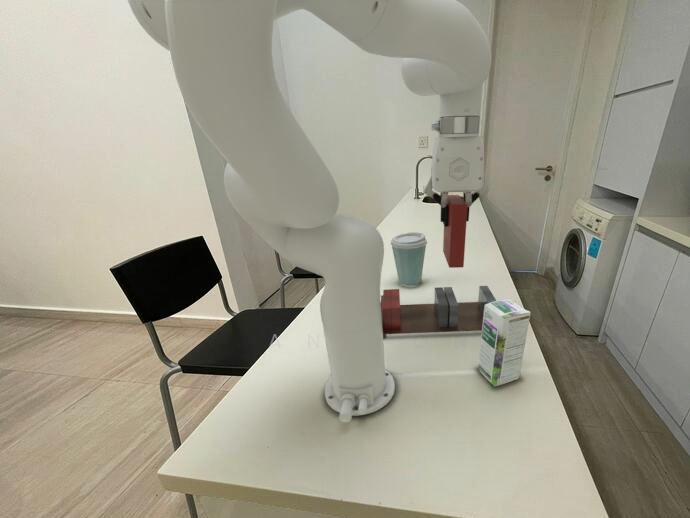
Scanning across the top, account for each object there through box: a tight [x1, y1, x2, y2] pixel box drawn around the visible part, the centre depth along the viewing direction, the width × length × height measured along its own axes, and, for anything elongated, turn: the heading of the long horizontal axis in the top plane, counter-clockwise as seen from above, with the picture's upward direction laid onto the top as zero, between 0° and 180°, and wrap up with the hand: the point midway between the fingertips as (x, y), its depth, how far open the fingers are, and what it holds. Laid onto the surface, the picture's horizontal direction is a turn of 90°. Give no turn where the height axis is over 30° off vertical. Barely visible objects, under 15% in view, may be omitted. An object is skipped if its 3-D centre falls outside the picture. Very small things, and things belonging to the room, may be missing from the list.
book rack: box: [380, 285, 497, 339], centre depth 80 cm, size 14×28×7 cm, turn 91°
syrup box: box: [477, 298, 531, 388], centre depth 60 cm, size 6×6×14 cm
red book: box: [442, 194, 468, 269], centre depth 71 cm, size 11×3×13 cm, turn 0°
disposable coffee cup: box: [390, 231, 428, 286], centre depth 99 cm, size 11×11×15 cm
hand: (454, 224), depth 71 cm, fingers closed on red book, 3 cm apart
